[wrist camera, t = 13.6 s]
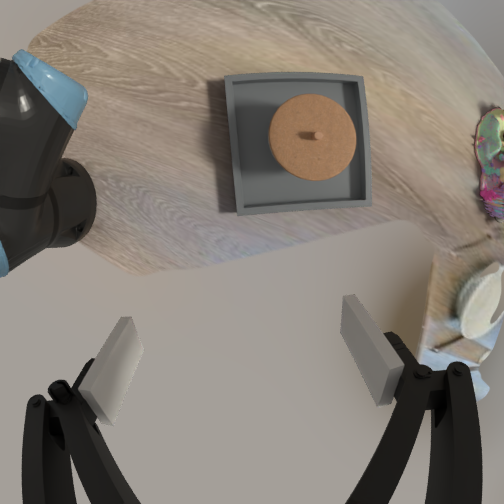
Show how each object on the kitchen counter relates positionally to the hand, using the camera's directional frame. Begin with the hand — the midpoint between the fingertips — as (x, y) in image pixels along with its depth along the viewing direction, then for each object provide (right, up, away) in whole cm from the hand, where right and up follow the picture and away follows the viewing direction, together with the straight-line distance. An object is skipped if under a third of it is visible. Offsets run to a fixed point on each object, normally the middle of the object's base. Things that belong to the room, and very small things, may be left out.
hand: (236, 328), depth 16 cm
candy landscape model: (+56, +23, +22) cm, 65 cm away
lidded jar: (+8, +20, +21) cm, 30 cm away
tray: (+8, +21, +21) cm, 31 cm away
